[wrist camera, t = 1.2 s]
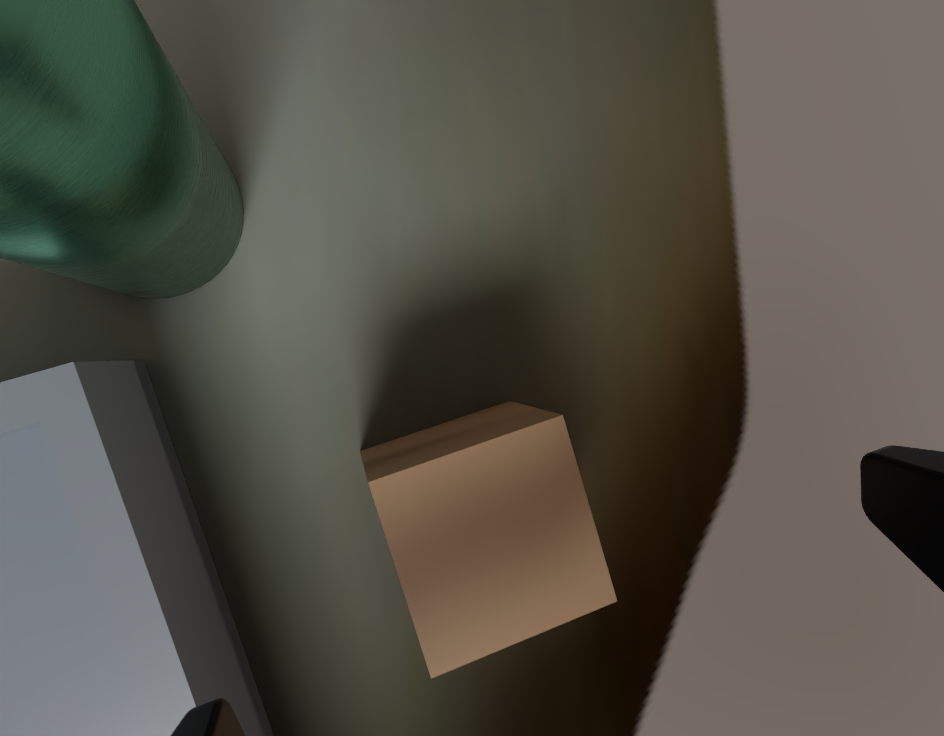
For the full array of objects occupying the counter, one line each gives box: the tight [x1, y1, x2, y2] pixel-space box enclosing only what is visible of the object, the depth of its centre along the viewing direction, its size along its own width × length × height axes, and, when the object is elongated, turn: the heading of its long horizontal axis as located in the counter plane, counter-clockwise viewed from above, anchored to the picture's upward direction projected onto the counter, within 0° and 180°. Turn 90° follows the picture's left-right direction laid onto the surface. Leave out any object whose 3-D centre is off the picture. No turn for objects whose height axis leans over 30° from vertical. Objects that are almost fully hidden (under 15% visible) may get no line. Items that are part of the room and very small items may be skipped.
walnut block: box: [360, 401, 617, 679], centre depth 18 cm, size 5×5×5 cm
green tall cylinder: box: [0, 0, 244, 298], centre depth 12 cm, size 5×5×13 cm
